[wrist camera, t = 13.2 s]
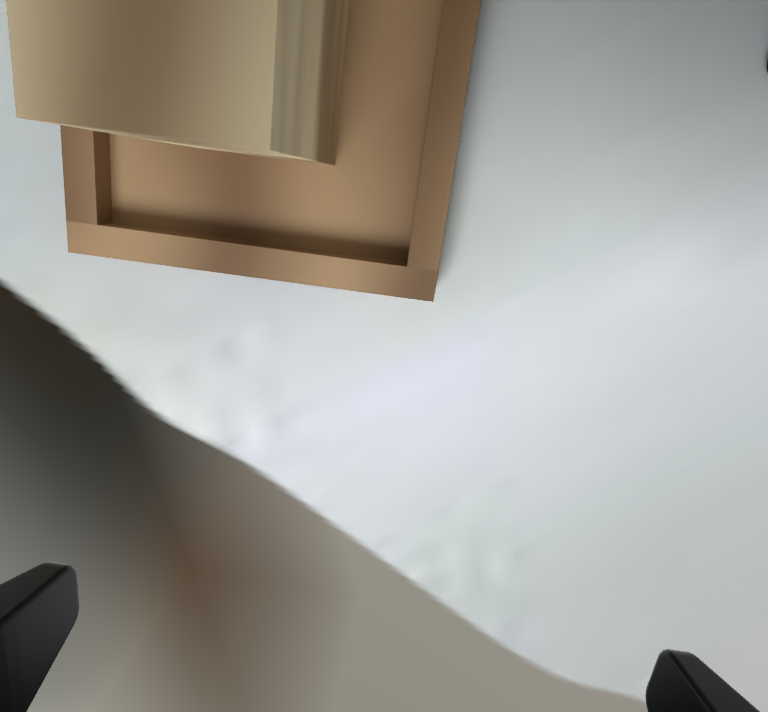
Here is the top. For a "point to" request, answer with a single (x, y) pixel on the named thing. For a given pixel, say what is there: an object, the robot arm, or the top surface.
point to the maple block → (186, 71)
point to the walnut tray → (301, 173)
